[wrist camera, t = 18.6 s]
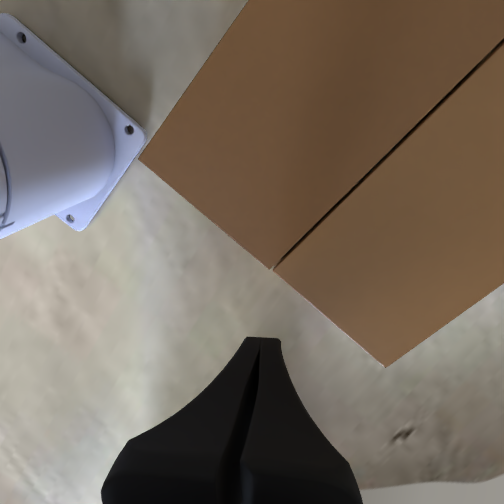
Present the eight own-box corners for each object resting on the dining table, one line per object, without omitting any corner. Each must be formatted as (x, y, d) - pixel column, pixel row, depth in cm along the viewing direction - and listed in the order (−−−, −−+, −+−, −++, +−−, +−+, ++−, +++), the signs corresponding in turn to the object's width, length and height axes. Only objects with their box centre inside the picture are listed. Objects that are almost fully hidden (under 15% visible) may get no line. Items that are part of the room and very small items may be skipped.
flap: (651, 170, 12) (660, 171, 11) (384, 363, 16) (385, 368, 15) (521, 23, 11) (527, 20, 10) (272, 268, 15) (272, 270, 14)
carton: (519, 143, 19) (662, 171, 11) (358, 281, 23) (386, 370, 15) (337, -52, 17) (366, -175, 9) (195, 137, 21) (134, 158, 13)
